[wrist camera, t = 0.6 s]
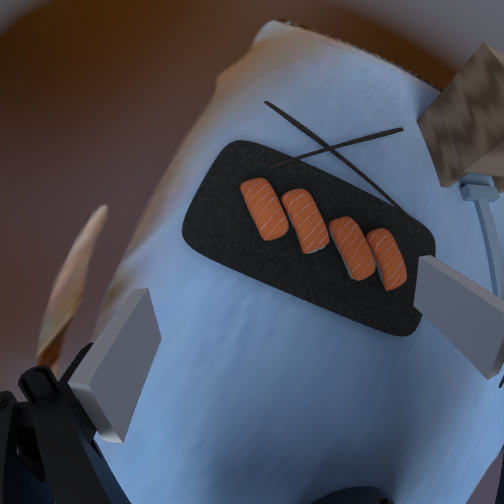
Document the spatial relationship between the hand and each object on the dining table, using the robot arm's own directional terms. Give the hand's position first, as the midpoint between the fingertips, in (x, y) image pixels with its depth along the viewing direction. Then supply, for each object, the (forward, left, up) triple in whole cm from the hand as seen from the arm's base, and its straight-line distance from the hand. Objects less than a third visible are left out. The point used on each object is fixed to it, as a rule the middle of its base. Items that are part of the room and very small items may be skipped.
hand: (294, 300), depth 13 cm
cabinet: (+20, -38, -16) cm, 46 cm away
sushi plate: (+14, -12, -17) cm, 25 cm away
